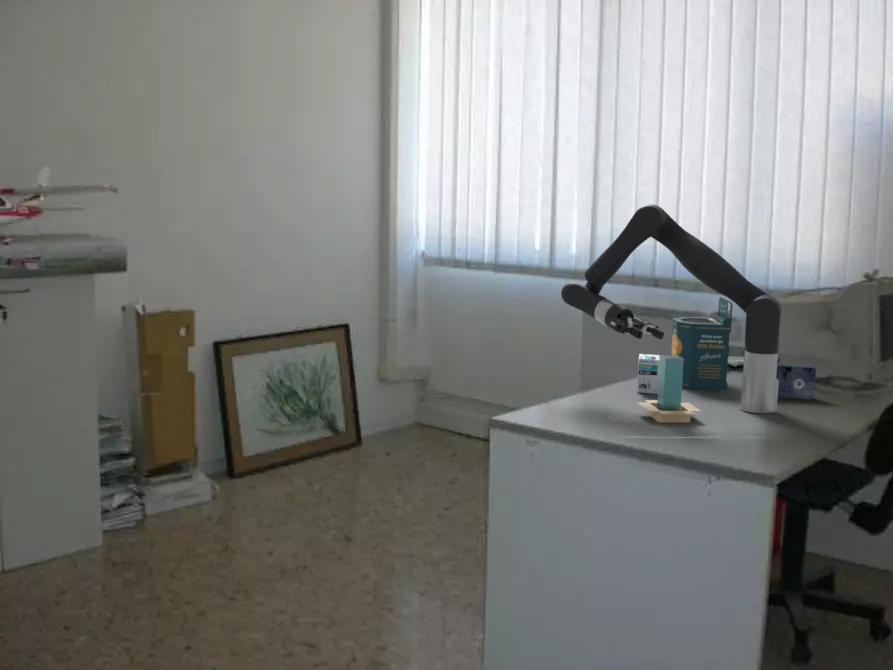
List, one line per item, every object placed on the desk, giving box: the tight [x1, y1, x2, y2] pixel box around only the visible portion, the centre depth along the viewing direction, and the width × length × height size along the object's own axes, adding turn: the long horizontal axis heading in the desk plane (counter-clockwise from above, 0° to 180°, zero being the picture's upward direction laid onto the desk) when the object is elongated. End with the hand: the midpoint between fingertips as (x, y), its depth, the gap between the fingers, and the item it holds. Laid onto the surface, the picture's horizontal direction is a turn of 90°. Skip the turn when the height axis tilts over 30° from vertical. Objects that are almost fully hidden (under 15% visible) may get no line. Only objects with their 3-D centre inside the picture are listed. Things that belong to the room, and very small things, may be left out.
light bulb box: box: [636, 353, 660, 395], centre depth 321 cm, size 11×7×11 cm, turn 168°
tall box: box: [656, 354, 684, 411], centre depth 282 cm, size 5×5×17 cm
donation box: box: [670, 296, 734, 391], centre depth 332 cm, size 16×16×28 cm
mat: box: [604, 414, 642, 423], centre depth 281 cm, size 8×8×1 cm
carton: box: [636, 399, 702, 424], centre depth 283 cm, size 15×17×4 cm
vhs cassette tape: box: [776, 364, 817, 400], centre depth 317 cm, size 18×3×10 cm, turn 80°
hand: (652, 335), depth 288 cm, fingers open, 8 cm apart
